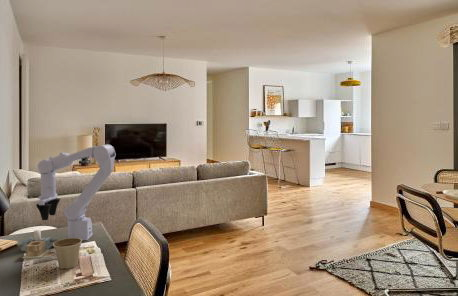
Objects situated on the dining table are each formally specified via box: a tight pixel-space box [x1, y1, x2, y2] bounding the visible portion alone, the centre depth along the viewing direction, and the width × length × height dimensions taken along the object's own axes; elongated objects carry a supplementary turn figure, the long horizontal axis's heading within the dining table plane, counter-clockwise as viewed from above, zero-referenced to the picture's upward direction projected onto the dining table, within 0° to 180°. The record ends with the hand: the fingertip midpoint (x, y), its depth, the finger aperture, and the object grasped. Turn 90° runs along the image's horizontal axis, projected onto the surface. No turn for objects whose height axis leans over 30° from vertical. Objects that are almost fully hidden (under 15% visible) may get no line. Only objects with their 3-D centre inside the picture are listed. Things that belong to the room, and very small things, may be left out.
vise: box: [20, 229, 59, 252], centre depth 143 cm, size 13×7×7 cm, turn 93°
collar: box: [25, 241, 46, 256], centre depth 135 cm, size 5×5×4 cm
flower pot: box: [52, 237, 83, 270], centre depth 124 cm, size 9×9×9 cm
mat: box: [21, 249, 50, 259], centre depth 135 cm, size 7×7×1 cm
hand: (48, 217), depth 153 cm, fingers open, 7 cm apart
